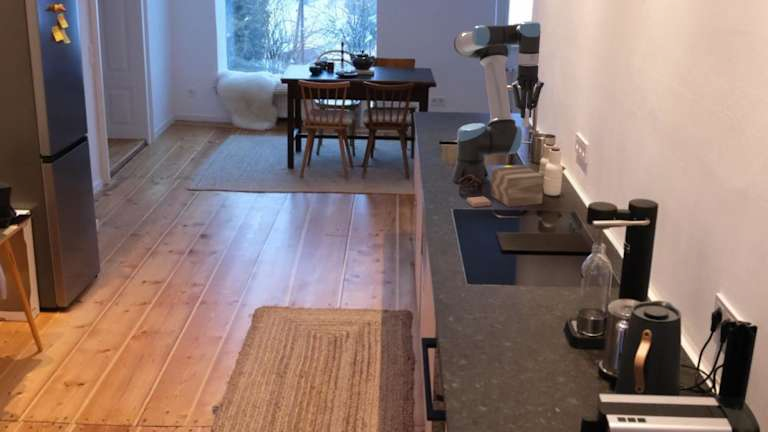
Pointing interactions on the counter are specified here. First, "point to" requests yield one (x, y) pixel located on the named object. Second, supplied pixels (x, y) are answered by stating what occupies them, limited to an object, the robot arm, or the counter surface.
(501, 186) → the oak block
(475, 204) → the tile
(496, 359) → the counter surface
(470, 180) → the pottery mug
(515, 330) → the counter surface
